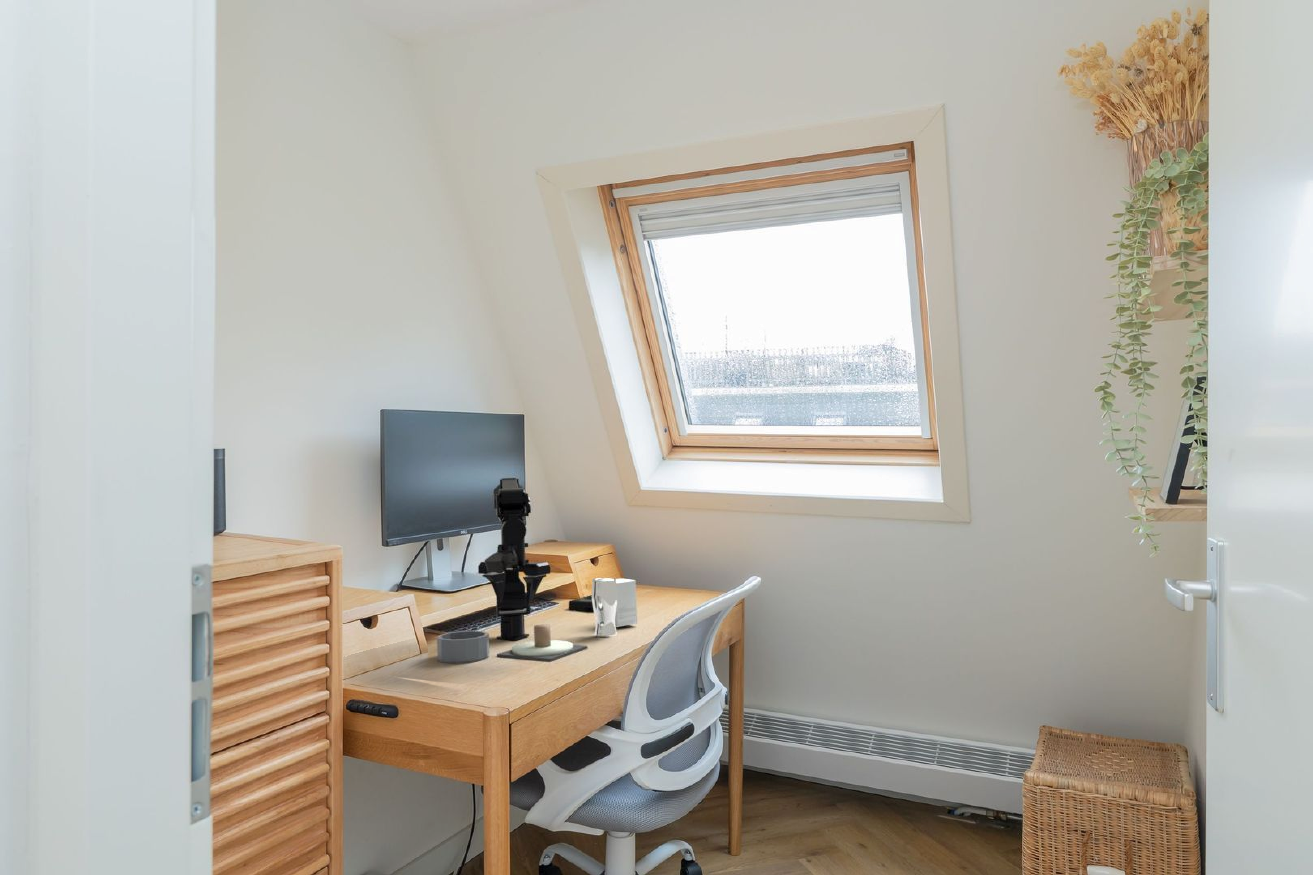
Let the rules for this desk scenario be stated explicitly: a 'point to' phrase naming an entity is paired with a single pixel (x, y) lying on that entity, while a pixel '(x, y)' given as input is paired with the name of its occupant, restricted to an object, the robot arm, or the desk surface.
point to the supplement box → (626, 603)
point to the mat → (543, 658)
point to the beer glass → (604, 606)
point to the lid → (542, 644)
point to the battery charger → (582, 604)
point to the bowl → (463, 646)
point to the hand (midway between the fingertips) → (514, 603)
